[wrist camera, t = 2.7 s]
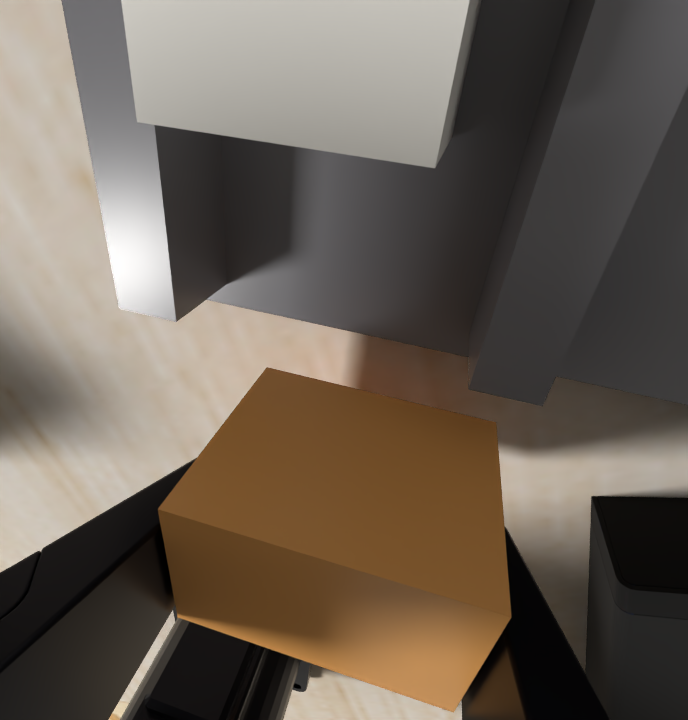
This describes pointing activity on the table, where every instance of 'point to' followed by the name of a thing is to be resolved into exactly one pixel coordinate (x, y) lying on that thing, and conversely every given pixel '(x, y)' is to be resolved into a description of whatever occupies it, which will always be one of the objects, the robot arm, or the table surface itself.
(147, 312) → the grey ridged tray
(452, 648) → the orange block
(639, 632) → the external hard drive
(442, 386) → the table surface
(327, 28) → the white block
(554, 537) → the table surface
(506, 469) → the table surface
